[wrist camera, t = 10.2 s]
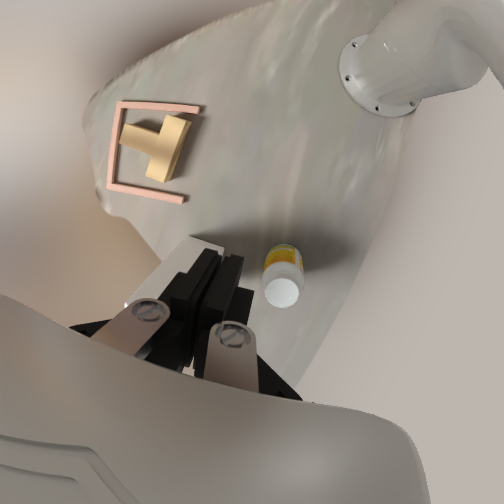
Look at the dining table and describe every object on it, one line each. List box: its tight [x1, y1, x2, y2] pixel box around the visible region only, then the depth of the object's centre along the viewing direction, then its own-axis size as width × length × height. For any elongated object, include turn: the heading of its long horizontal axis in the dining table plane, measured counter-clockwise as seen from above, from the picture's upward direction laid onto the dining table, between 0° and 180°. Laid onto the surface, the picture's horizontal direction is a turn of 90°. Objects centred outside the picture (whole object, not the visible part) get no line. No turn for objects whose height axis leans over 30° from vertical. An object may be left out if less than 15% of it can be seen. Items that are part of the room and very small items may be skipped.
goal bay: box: [106, 102, 201, 204], centre depth 36 cm, size 14×14×1 cm
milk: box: [125, 236, 225, 308], centre depth 32 cm, size 6×6×22 cm
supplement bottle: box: [262, 244, 304, 308], centre depth 36 cm, size 5×5×10 cm
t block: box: [119, 115, 192, 183], centre depth 35 cm, size 9×9×2 cm
